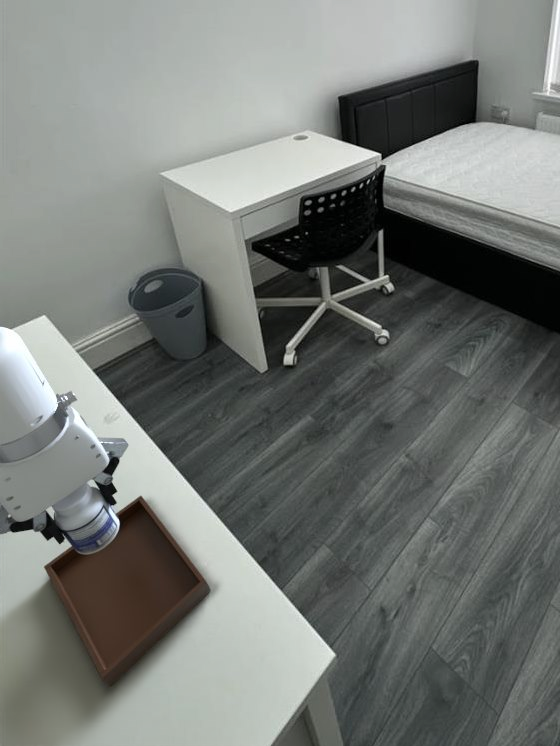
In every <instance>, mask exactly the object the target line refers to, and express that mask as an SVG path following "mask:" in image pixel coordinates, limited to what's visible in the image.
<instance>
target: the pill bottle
mask: <svg viewBox="0 0 560 746" xmlns="http://www.w3.org/2000/svg"><path fill="white" fill-rule="evenodd" d="M51 508H52V510H53V511H54V512H53V520H54V522H55V524H56V526H57V527H58V529H59V530H60V531H61V532H62V534H63V536H64V537H65V540H67V541H68V543H69V544H70V545H71V546H72V547H73V548H74V549H75V550H76V551H77V552H78V553H80V554H92V553H95V552H98V551H100V550H102V549H103V548H105V547H106V546H107V545H108V544H109V543H110V542H111V541H112V540H113V539H114V538H115V536H116V535H117V532H118V530H119V525H120V524H119V519H118V517H117V515H116V512H115V510H114V509H113V506H110V504H109V503H108V501H107V500H106V498H105V497H104V495H103V493H102V492H101V491H100V489H99V488H98V487H95V486H90V484H89V482H87V483H85V484H84V485H82V486H81V487H79V488H78V489H76V490H75V491H73V492H72V493H71V494H69V495H68V496H66V497H64V498H63V499H61V500H60V501H58V502H57V503H55V504H54V505H52V506H51Z"/></svg>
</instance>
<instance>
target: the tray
mask: <svg viewBox="0 0 560 746" xmlns="http://www.w3.org/2000/svg"><path fill="white" fill-rule="evenodd" d="M115 514H116V515H117V517H118V519H119V524H120V525H119V530H118V532H117V535H116V536H115V538H114V539H113V540H112V541H111V542H110V543H109V544H108V545H107V546H106V547H105V548H103V549H102V550H100V551H98V552H95V553H92V554H80V553H78V552H77V551H76V550H75V549H74V548H73V547H72V545H71V546H70V547H68V548H67V549H66V550H63V552H61V553H60V554H59V555H57V556H56V557H55V558H53V559H52V560H51V561H49V562H48V563H46V564H45V565H44V566H43V569H44V570H45V572H46V575H47V576H48V577H49V579H50V581H51V584H52V585H53V587H54V590H55V591H56V593H57V595H58V597H59V599H60V601H61V603H62V604H63V607H64V609H65V611H66V613H67V614H68V616H69V618H70V620H71V621H72V624H73V626H74V628H75V630H76V631H77V633H78V635H79V637H80V639H81V641H82V643H83V646H84V647H85V649H86V650H87V653H88V655H89V657H90V658H91V661H92V662H93V664H94V666H95V668H96V670H97V672H98V674H99V675H100V677H101V679H102V680H103V681H104V682H105V683H106V684H107V685H108V686H109V687H112V685H113V684H115V683H116V682H117V681H118V680H119V679H120V678H121V677H122V676H123V675H125V674H126V672H127V671H128V670H130V668H132V667H133V666H134V665H135V664H136V663H137V662H138V661H139V660H140V659H141V658H142V657H143V656H144V655H146V653H147V652H148V651H149V650H150V649H151V648H153V646H155V644H156V643H158V642H159V641H160V640H161V639H162V638H163V637H164V636H165V635H166V634H167V633H169V631H170V630H171V629H173V627H175V625H176V624H178V623H179V622H180V621H181V620H182V619H183V618H184V617H185V616H186V615H187V614H188V613H189V612H190V611H191V610H193V608H195V606H197V605H198V603H200V601H202V600H203V599H204V598H205V597H206V596H207V595H208V594H209V593H210V592H211V591H212V589H211V588H210V586H209V583H208V581H207V580H206V579H205V577H204V576H203V574H202V573H201V572H200V570H198V569H199V568H197V567H196V565H195V564H194V563H193V561H192V560H191V559H190V557H189V556H188V555H187V553H186V552H185V550H184V549H183V548H182V547H181V546H180V544H179V543H178V542H177V541H176V539H175V538H174V537H173V535H172V534H171V532H170V531H169V530H168V528H167V527H166V526H165V525H164V523H163V522H162V521H161V520H160V518H159V516H158V515H157V514H156V513H155V511H154V510H153V509H152V508H151V506H150V505H149V504H148V502H147V500H145V498H144V497H143V496H142V495H139V496H137V498H135V499H134V500H132V501H131V502H130V503H128V504H127V505H125V506H124V507H122V508H121V509H120V510H119V511H117V512H115Z"/></svg>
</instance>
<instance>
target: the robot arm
mask: <svg viewBox="0 0 560 746" xmlns="http://www.w3.org/2000/svg"><path fill="white" fill-rule="evenodd" d="M77 401H78V399H77V397H76V395H75V394H74V393H73V391H72V390H70V391H67V392H66V393H62V394H59V393H55V392H54V390H53V388H52V386H51V385H50V383H49V382H48V380H47V378H46V377H45V375H44V373H43V372H42V370H41V368H40V366H39V365H38V363H37V361H36V360H35V358H34V357H33V355H32V354H31V351H30V350H29V348H28V347H27V344H25V342H24V340H23V339H22V337H21V336H20V335H19V334H18V333H17V332H15V331H14V330H13V329H10V328H8V327H4V326H0V535H4V534H7V533H9V532H10V533H13V534H15V533H20V532H21V533H22V532H27V531H34V532H35V533H40V534H41V535H42V536H43V538H44V539H45V540H46V541H47V542H48V541H50V540H51V539H53V538H54V540H55V541H56V542H57V543H58V545H59V546H60V545H62V543H64V542H65V540H66V538H65V536H64V535H63V534H62V532H61V531H60V530H59V529H58V527H57V526H56V524H55V522H54V518H53V517H52V515H50V513H49V512H48V509H50V507H51V508H52V505H54V504H55V503H57V502H58V501H60V500H61V499H63V498H64V497H66V496H68V495H69V494H71V493H72V492H73V491H75V490H76V489H78V488H79V487H81V486H82V485H84V484H85V483H89V482H90V481H94V484H95V485H96V486H97V488H98V489H99V490H100V491H101V492H102V493H103V495H104V497H105V498H106V500H107V501H108V503H109V504H110V506H111V507H114V506H115V505H116V504H118V503H117V500H116V499H115V497H114V496H113V495H115V494H117V493H118V490H117V488H116V486H115V484H114V483H113V480H114V477H113V475H114V474H115V471H116V470H117V468H118V466H119V465H120V462H121V461H120V459H121V458H122V457H123V455H124V454H125V452H126V451H127V449H128V447H129V443H128V442H127V441H126V440H125V438H124V437H98V436H96V434H95V432H94V431H93V429H92V428H91V426H89V424H88V423H87V421H86V420H85V419H84V418H83V417H82V415H81V414H80V413H79V412H78V411H77V410H76V409H75V408H73V407H72V405H71V404H73V403H75V402H77Z"/></svg>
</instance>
